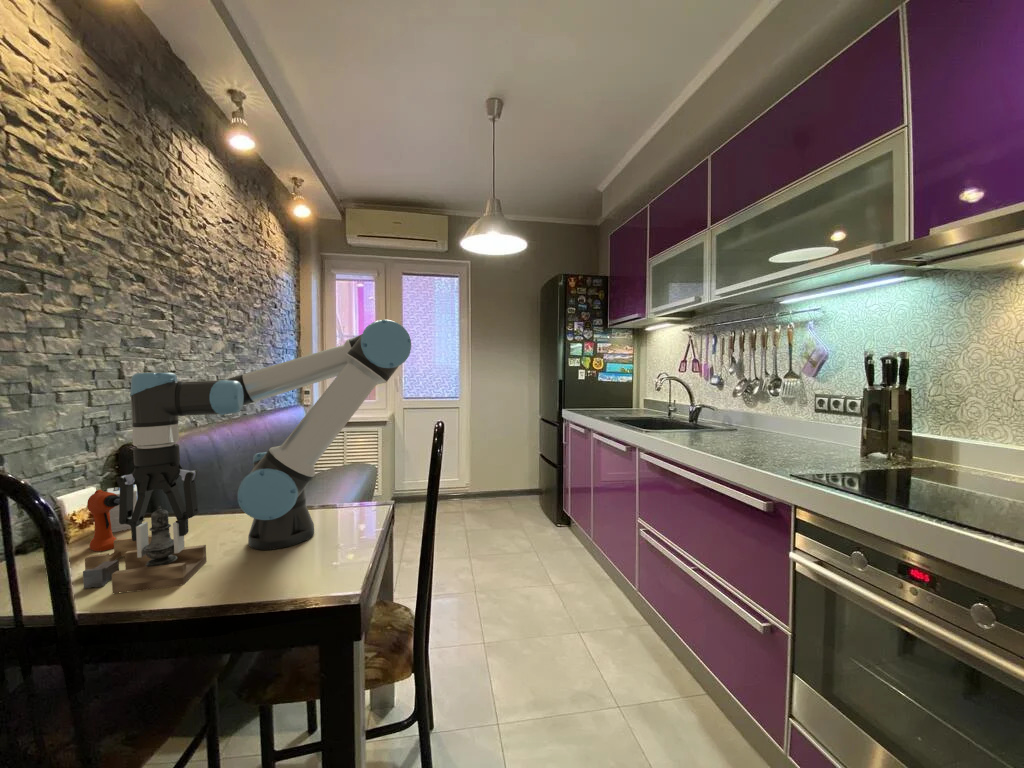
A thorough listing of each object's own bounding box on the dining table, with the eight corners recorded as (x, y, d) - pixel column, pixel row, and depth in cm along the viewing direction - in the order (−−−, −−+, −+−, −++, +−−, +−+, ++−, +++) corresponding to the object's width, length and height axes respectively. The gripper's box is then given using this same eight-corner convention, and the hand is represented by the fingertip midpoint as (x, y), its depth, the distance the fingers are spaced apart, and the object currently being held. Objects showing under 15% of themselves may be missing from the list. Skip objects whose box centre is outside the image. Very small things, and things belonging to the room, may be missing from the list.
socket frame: (170, 549, 106) (170, 533, 105) (145, 568, 95) (144, 550, 95) (117, 555, 103) (116, 538, 102) (85, 575, 92) (84, 557, 92)
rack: (206, 561, 98) (205, 544, 97) (183, 584, 87) (182, 565, 87) (144, 569, 94) (143, 551, 94) (112, 594, 84) (111, 574, 84)
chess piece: (139, 570, 87) (136, 512, 86) (148, 559, 92) (145, 504, 91) (175, 563, 89) (173, 507, 89) (182, 553, 94) (179, 500, 94)
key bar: (121, 573, 93) (120, 557, 93) (102, 586, 87) (102, 569, 87) (103, 575, 92) (102, 559, 92) (83, 588, 86) (82, 571, 86)
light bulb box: (107, 524, 125) (106, 488, 125) (138, 518, 129) (136, 483, 129) (106, 534, 117) (104, 495, 117) (139, 527, 122) (137, 490, 121)
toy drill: (117, 555, 99) (110, 491, 99) (86, 551, 108) (79, 492, 108) (143, 547, 103) (136, 486, 104) (111, 544, 112) (104, 487, 112)
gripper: (215, 439, 96) (219, 540, 97) (114, 445, 91) (119, 551, 92) (200, 445, 89) (204, 554, 89) (90, 451, 84) (95, 566, 84)
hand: (161, 552), depth 91 cm, fingers closed on chess piece, 6 cm apart
